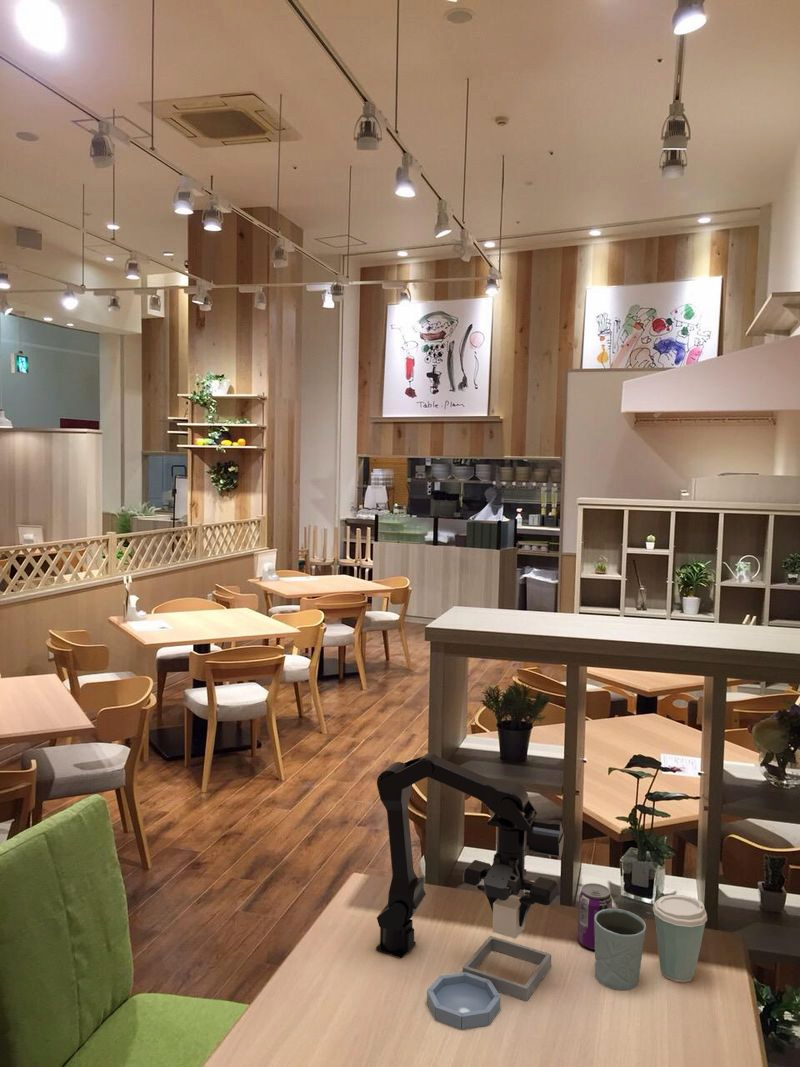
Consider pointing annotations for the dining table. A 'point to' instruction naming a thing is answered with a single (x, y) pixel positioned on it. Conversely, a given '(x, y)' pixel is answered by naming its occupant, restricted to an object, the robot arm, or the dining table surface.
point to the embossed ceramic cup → (618, 948)
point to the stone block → (507, 917)
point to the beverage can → (591, 911)
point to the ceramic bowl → (463, 1000)
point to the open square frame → (516, 951)
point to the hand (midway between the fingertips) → (508, 922)
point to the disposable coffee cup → (679, 935)
